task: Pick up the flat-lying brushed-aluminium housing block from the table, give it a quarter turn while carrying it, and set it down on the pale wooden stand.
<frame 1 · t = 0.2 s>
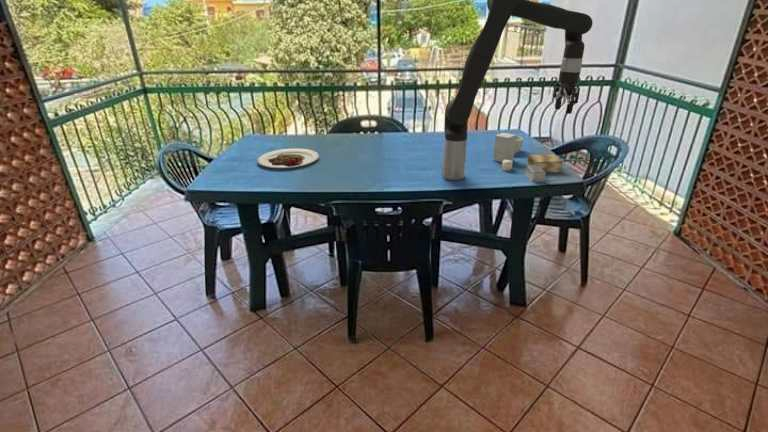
hand: (562, 111, 169), 28 cm above the table, tool pointing down, fingers open, 8 cm apart
stand: (543, 168, 189), on the table
housing: (534, 178, 179), on the table
beige cube: (506, 169, 189), on the table
ramekin: (508, 151, 214), on the table
supplement box: (503, 160, 200), on the table
plated food: (288, 161, 206), on the table
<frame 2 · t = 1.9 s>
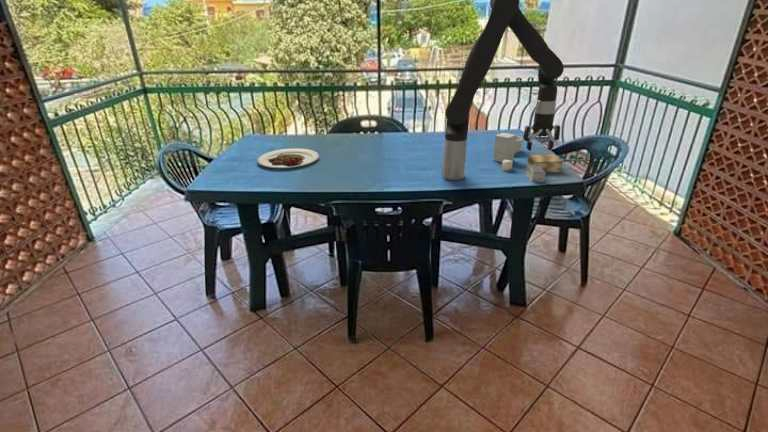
hand: (539, 150, 173), 12 cm above the table, tool pointing down, fingers open, 8 cm apart
nothing on the table moved.
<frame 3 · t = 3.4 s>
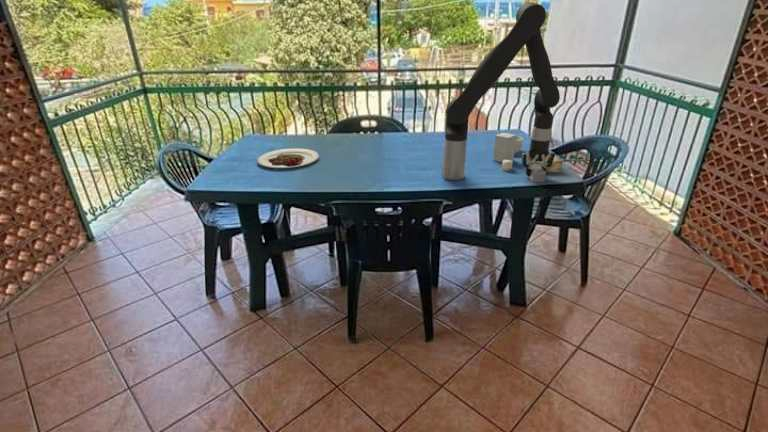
hand: (535, 175, 178), 1 cm above the table, tool pointing down, fingers closed on housing, 5 cm apart
housing: (534, 177, 179), on the table, touching gripper
everything else where it was.
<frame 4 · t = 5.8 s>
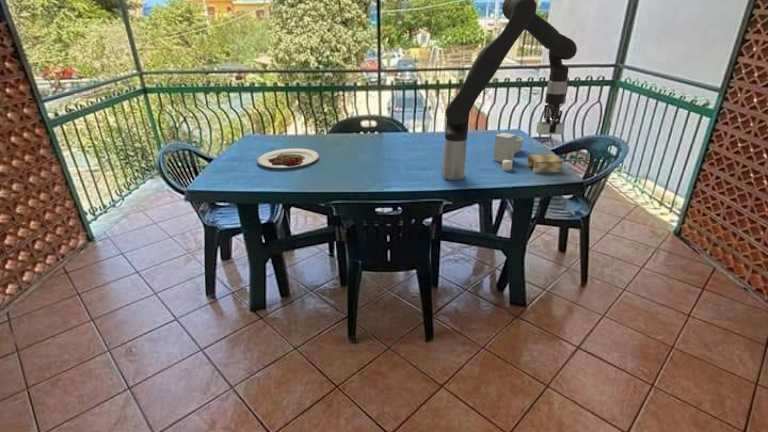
hand: (549, 131, 181), 17 cm above the table, tool pointing down, fingers closed on housing, 5 cm apart
housing: (549, 133, 181), point 17 cm above the table, touching gripper
everything else where it was.
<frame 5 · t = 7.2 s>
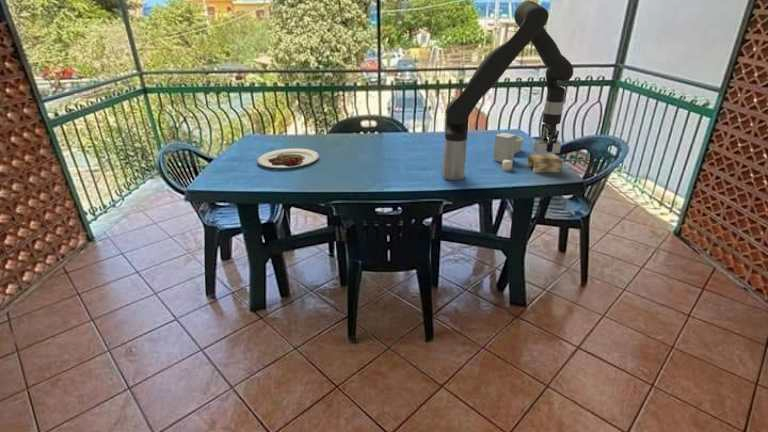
hand: (546, 149, 185), 9 cm above the table, tool pointing down, fingers closed on housing, 5 cm apart
housing: (546, 151, 185), point 8 cm above the table, touching gripper
everything else where it was.
when the fingers open (7 cm above the table, at t = 8.2 s): housing stays where it is, resting on stand.
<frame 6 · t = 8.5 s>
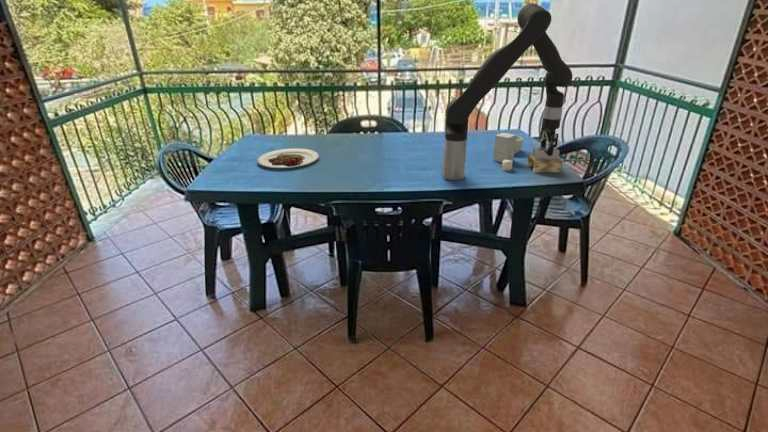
hand: (546, 152, 185), 8 cm above the table, tool pointing down, fingers open, 8 cm apart
housing: (544, 158, 187), point 5 cm above the table, touching stand
everything else where it was.
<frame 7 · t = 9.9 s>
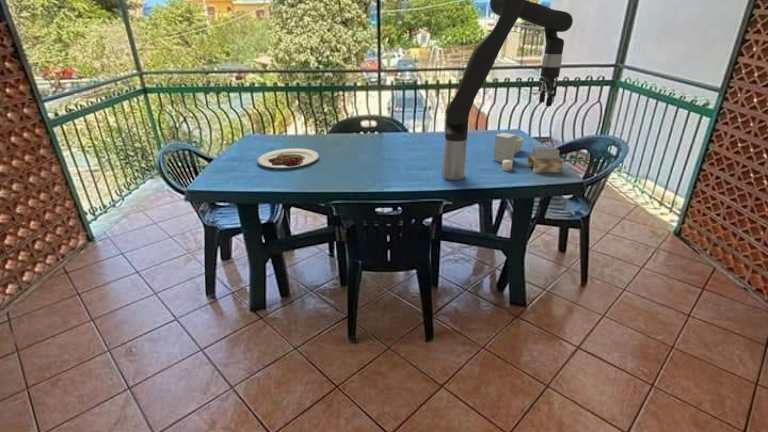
hand: (544, 104, 180), 28 cm above the table, tool pointing down, fingers open, 8 cm apart
nothing on the table moved.
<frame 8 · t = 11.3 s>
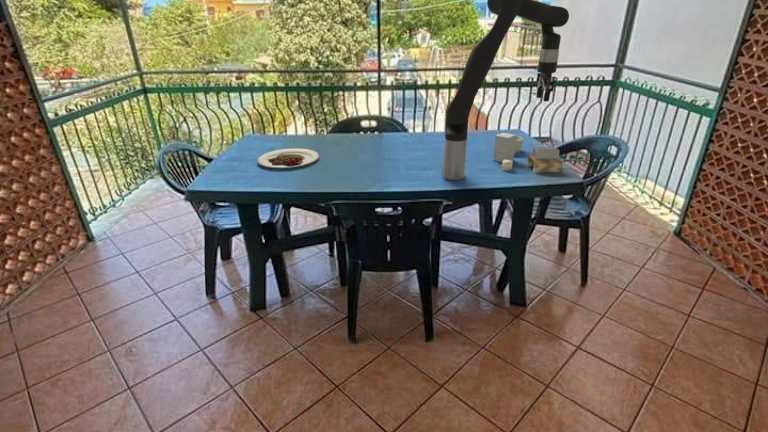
hand: (542, 99, 181), 30 cm above the table, tool pointing down, fingers open, 8 cm apart
nothing on the table moved.
at the end: housing inside the target area on the stand (0.2 cm from its centre), point 5.0 cm above the stand's base; housing tilted 0°; the gripper is holding nothing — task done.
